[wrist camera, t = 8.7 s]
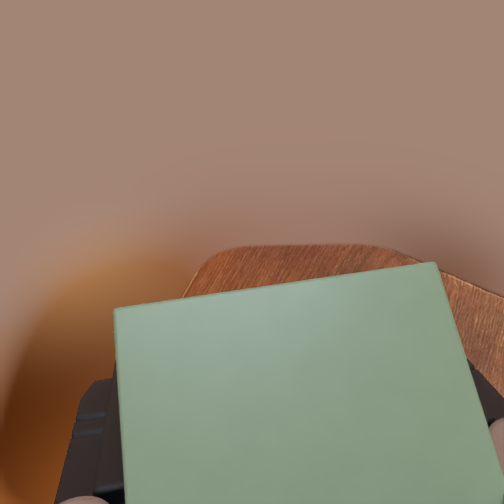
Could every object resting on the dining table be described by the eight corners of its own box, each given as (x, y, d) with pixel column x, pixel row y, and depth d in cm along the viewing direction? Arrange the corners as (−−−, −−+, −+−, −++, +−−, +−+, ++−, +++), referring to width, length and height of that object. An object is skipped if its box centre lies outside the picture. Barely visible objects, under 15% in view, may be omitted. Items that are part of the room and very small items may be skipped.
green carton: (196, 544, 14) (140, 750, 5) (178, 378, 16) (111, 307, 7) (353, 512, 15) (561, 648, 6) (319, 355, 17) (437, 259, 7)
